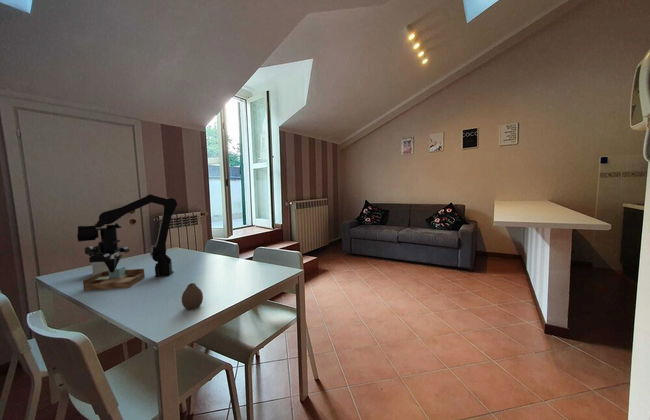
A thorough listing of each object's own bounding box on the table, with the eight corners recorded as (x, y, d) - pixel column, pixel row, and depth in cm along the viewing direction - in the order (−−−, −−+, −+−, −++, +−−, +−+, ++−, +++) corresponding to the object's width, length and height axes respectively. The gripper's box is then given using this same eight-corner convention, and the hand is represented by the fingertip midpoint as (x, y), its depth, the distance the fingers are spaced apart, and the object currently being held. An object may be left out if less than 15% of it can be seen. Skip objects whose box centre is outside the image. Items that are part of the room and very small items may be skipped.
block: (125, 274, 126) (124, 266, 126) (119, 277, 122) (119, 269, 122) (115, 275, 126) (114, 267, 125) (109, 278, 121) (108, 269, 121)
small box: (109, 274, 135) (106, 249, 134) (92, 277, 131) (90, 251, 130) (109, 270, 141) (107, 247, 140) (93, 273, 137) (91, 248, 136)
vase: (187, 304, 98) (185, 281, 97) (206, 303, 99) (204, 280, 98) (178, 312, 91) (177, 288, 91) (199, 311, 92) (197, 287, 91)
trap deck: (144, 277, 129) (144, 268, 129) (129, 287, 116) (128, 277, 116) (103, 280, 126) (103, 271, 126) (83, 290, 113) (82, 280, 113)
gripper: (103, 235, 126) (105, 267, 127) (72, 243, 108) (76, 280, 109) (128, 234, 128) (131, 265, 129) (103, 242, 110) (106, 278, 111)
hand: (112, 272), depth 120 cm, fingers closed
